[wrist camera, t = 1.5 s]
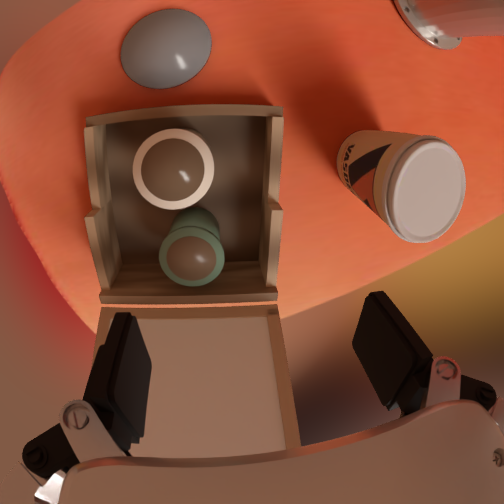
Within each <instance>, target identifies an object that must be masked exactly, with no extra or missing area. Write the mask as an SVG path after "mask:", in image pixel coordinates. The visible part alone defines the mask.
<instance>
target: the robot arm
mask: <svg viewBox="0 0 504 504" xmlns="http://www.w3.org/2000/svg"><path fill="white" fill-rule="evenodd" d="M394 3H395V5H396V7H397V10H398V11H399V13H400V15H401V16H402V18H403V19H404V21H405V22H406V24H407V25H408V26H409V27H410V28H411V30H412V31H413V32H414V33H415V34H416V35H417V36H418V37H419V38H421V39H422V40H423V41H425V42H426V43H427V44H429V45H431V46H433V47H435V48H438V49H443V50H447V49H453V48H456V47H457V46H458V45H459V44H460V42H461V40H462V37H472V36H504V0H394ZM352 345H353V349H354V350H355V353H356V354H357V356H358V358H359V360H360V362H361V364H362V366H363V368H364V369H365V372H366V374H367V375H368V377H369V379H370V381H371V383H372V385H373V387H374V389H375V391H376V393H377V395H378V397H379V399H380V401H381V403H382V405H383V406H386V407H387V409H388V411H390V410H393V409H396V408H398V407H400V409H401V414H400V418H399V419H396V420H393V421H390V422H388V423H385V424H382V425H380V426H377V427H374V428H371V429H368V430H365V431H361V432H358V433H355V434H351V435H348V436H345V437H341V438H337V439H333V440H329V441H325V442H321V443H317V444H312V445H308V446H303V447H298V448H292V449H287V450H281V451H274V452H267V453H260V454H251V455H241V456H229V457H212V458H158V457H134V456H133V455H132V454H131V453H130V451H129V450H130V448H131V443H134V444H139V442H140V438H143V437H144V431H145V420H146V410H147V401H148V393H149V385H150V378H151V371H152V362H151V359H150V356H149V353H148V351H147V348H146V345H145V342H144V339H143V337H142V334H141V331H140V328H139V325H138V322H137V318H136V316H132V315H131V313H130V312H116V313H115V315H114V318H113V321H112V323H111V326H110V329H109V332H108V335H107V338H106V341H105V344H103V345H100V346H99V348H98V351H97V354H96V357H95V360H94V363H93V366H92V370H91V373H90V376H89V379H88V383H87V386H86V389H85V393H84V396H83V400H73V401H70V402H69V403H67V404H65V405H64V407H63V408H62V409H61V412H60V414H59V421H60V423H59V424H57V425H55V426H54V427H52V428H50V429H49V430H47V431H46V432H44V433H43V434H41V435H39V436H38V437H36V438H34V439H33V440H31V441H29V442H28V443H27V444H26V445H25V447H24V449H23V453H22V458H23V461H22V463H20V462H19V461H18V462H17V463H16V465H15V466H14V467H13V468H12V470H11V471H10V472H9V473H8V475H7V476H6V477H5V478H4V480H3V481H2V482H1V483H0V504H57V503H58V504H504V399H502V398H501V397H498V398H497V397H496V392H495V390H494V389H493V387H492V386H491V385H490V384H488V383H485V382H482V381H479V380H476V379H473V378H470V377H467V376H464V375H461V371H460V368H459V366H458V364H457V363H456V362H455V361H454V360H453V359H451V358H449V357H444V356H442V357H438V358H436V359H435V360H433V359H432V356H433V354H432V353H431V352H430V350H429V349H428V348H427V346H426V345H425V344H424V342H423V341H422V339H421V338H420V337H419V336H418V334H417V333H416V331H415V330H414V329H413V327H412V326H411V325H410V324H409V322H408V321H407V320H406V318H405V317H404V316H403V315H402V313H401V312H400V311H399V310H398V308H397V307H396V306H395V304H394V303H393V302H392V301H391V300H390V298H389V297H388V296H387V295H386V293H384V291H377V292H371V293H370V294H369V295H368V296H367V297H366V298H365V302H364V305H363V309H362V312H361V315H360V319H359V322H358V325H357V328H356V331H355V335H354V338H353V341H352Z"/></svg>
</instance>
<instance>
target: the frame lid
mask: <svg viewBox="0 0 504 504" xmlns="http://www.w3.org/2000/svg"><path fill="white" fill-rule="evenodd" d="M116 312H130V313H131V315H132V316H136V318H137V322H138V325H139V328H140V331H141V334H142V337H143V339H144V342H145V345H146V348H147V351H148V353H149V356H150V359H151V362H152V371H151V378H150V385H149V393H148V401H147V410H146V420H145V431H144V437H143V438H140V442H139V444H134V443H131V448H130V450H129V451H130V453H131V454H132V455H133V456H134V457H158V458H212V457H229V456H241V455H251V454H260V453H267V452H274V451H281V450H287V449H292V448H298V447H301V444H300V437H299V430H298V424H297V417H296V411H295V405H294V399H293V393H292V387H291V381H290V375H289V369H288V363H287V357H286V351H285V345H284V340H283V334H282V328H281V323H280V317H279V311H278V306H277V304H273V305H255V306H232V307H200V308H115V307H101V312H100V317H99V323H98V329H97V334H96V341H95V347H94V354H93V362H92V366H93V363H94V360H95V357H96V354H97V351H98V348H99V346H100V345H103V344H105V341H106V338H107V335H108V332H109V329H110V326H111V323H112V321H113V318H114V315H115V313H116Z"/></svg>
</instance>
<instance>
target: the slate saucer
mask: <svg viewBox="0 0 504 504" xmlns="http://www.w3.org/2000/svg"><path fill="white" fill-rule="evenodd" d="M211 47H212V41H211V34H210V31H209V29H208V27H207V25H206V24H205V22H204V21H203V20H202V19H201V18H200V17H198V16H197V15H195V14H193V13H191V12H189V11H186V10H181V9H166V10H161V11H157V12H154V13H152V14H149V15H148V16H146V17H144V18H143V19H141V20H140V21H138V22H137V23H136V24H135V25H134V26H133V27H132V28H131V29H130V31H129V32H128V34H127V35H126V37H125V39H124V41H123V44H122V48H121V63H122V66H123V69H124V71H125V72H126V74H127V75H128V76H129V77H130V78H131V79H132V80H133V81H134V82H136V83H138V84H140V85H142V86H145V87H148V88H152V89H167V88H172V87H176V86H179V85H181V84H183V83H185V82H187V81H189V80H190V79H192V78H193V77H194V76H196V75H197V74H198V73H199V72H200V71H201V70H202V68H203V67H204V66H205V64H206V62H207V61H208V58H209V56H210V52H211Z"/></svg>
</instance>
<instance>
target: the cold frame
mask: <svg viewBox="0 0 504 504" xmlns="http://www.w3.org/2000/svg"><path fill="white" fill-rule="evenodd" d="M283 126H284V117H283V107H280V106H265V105H242V104H203V105H179V106H165V107H153V108H144V109H135V110H127V111H120V112H113V113H107V114H101V115H96V116H90V117H86V128H84V141H85V155H86V166H87V175H88V184H89V191H90V198H91V205H92V210H91V211H90V212H89V213H88V214H87V215H86V216H85V217H84V219H85V224H86V229H87V234H88V239H89V243H90V248H91V252H92V256H93V260H94V264H95V268H96V272H97V275H98V279H99V282H100V286H101V289H102V290H101V292H100V294H99V298H100V301H101V304H212V303H240V302H261V301H277V297H278V291H277V288H276V282H277V272H278V262H279V252H280V241H281V230H282V219H283V209H282V208H281V206H280V205H279V203H278V201H279V188H280V173H281V158H282V143H283ZM180 128H188V129H193V130H195V131H197V132H199V133H201V134H202V135H203V136H204V137H205V138H206V140H207V141H208V143H209V145H210V148H211V153H212V156H213V160H214V176H213V180H212V183H211V185H210V187H209V189H208V191H207V192H206V194H205V195H204V196H203V197H202V198H201V199H200V200H199V201H197V202H196V203H194V204H193V205H191V206H188V207H186V208H182V209H175V210H173V209H164V208H160V207H157V206H155V205H153V204H151V203H150V202H149V201H147V200H146V199H145V198H144V197H143V196H142V195H141V193H140V192H139V190H138V189H137V187H136V185H135V182H134V178H133V162H134V158H135V155H136V153H137V151H138V149H139V147H140V146H141V145H142V143H143V142H144V141H145V140H146V139H148V138H149V137H150V136H152V135H153V134H155V133H157V132H160V131H163V130H167V129H180ZM191 207H199V208H203V209H206V210H208V211H209V212H211V213H212V214H213V215H214V216H215V217H216V219H217V221H218V223H219V229H220V242H221V244H222V246H223V250H224V266H223V268H222V270H221V272H220V274H219V275H218V276H217V277H216V278H215V279H214V280H213V281H211V282H209V283H207V284H204V285H201V286H185V285H181V284H178V283H176V282H174V281H173V280H171V279H170V278H169V277H168V276H167V275H166V274H165V273H164V271H163V270H162V268H161V265H160V262H159V251H160V247H161V245H162V242H163V240H164V239H165V238H166V236H167V235H168V234H169V231H170V228H171V225H172V222H173V220H174V218H175V217H176V216H177V214H178V213H180V212H181V211H182V210H184V209H187V208H191Z"/></svg>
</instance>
